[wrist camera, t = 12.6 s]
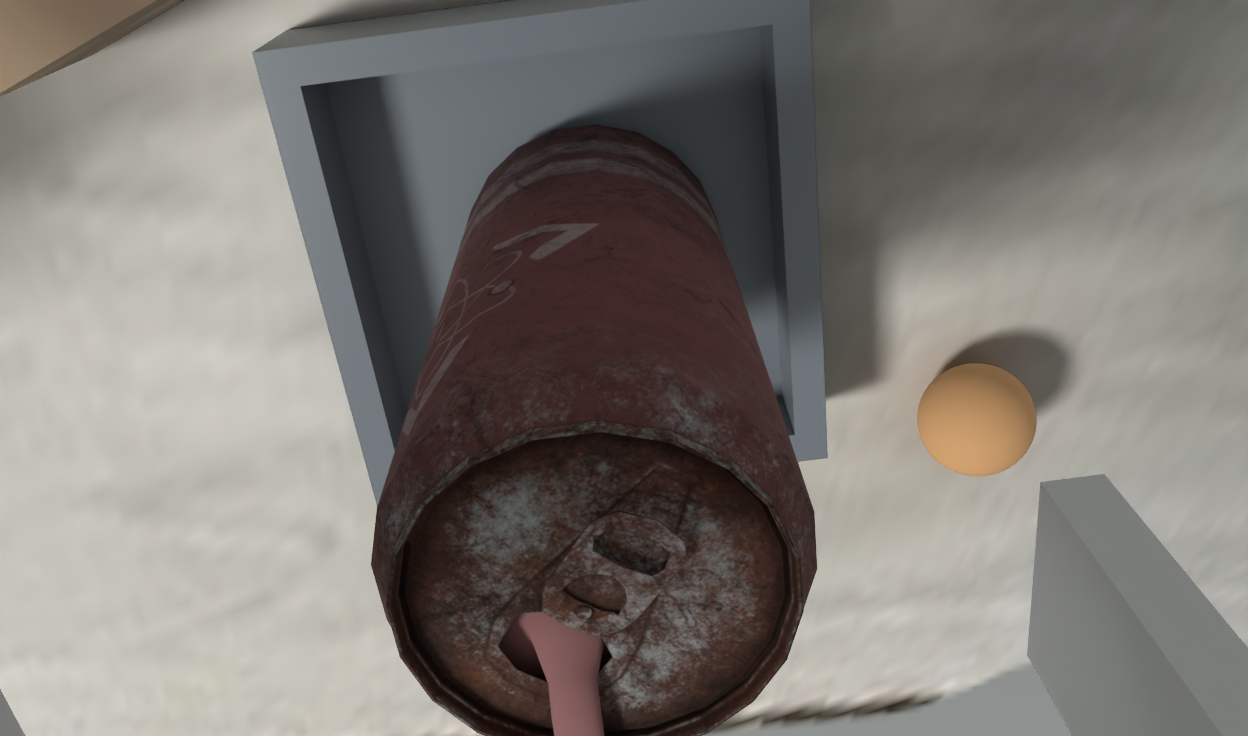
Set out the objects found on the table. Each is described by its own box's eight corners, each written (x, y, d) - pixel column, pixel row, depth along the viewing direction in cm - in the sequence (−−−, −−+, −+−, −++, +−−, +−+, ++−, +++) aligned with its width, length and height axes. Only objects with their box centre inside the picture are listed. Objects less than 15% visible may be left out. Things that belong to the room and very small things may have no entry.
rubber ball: (904, 445, 30) (934, 504, 27) (904, 351, 29) (937, 404, 26) (1009, 432, 30) (1051, 491, 27) (1014, 338, 28) (1058, 389, 26)
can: (493, 373, 28) (413, 817, 15) (449, 134, 25) (307, 439, 12) (723, 348, 27) (835, 775, 15) (706, 105, 25) (827, 382, 12)
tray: (396, 453, 30) (378, 511, 27) (287, 30, 24) (252, 52, 22) (807, 404, 29) (827, 457, 27) (785, -37, 24) (809, -22, 21)
